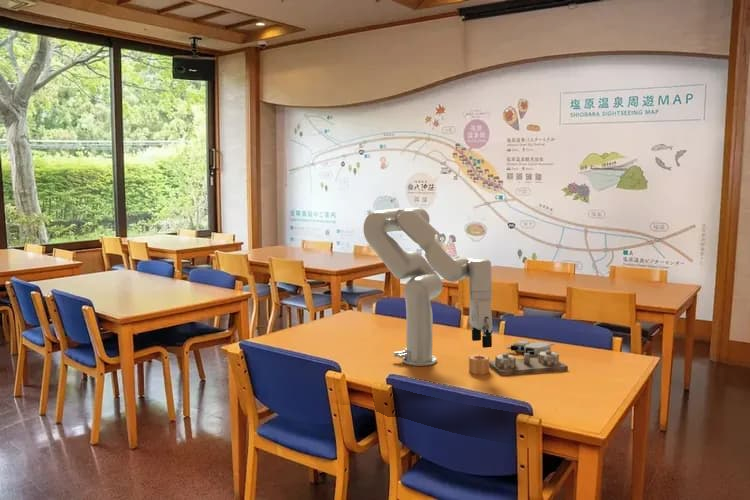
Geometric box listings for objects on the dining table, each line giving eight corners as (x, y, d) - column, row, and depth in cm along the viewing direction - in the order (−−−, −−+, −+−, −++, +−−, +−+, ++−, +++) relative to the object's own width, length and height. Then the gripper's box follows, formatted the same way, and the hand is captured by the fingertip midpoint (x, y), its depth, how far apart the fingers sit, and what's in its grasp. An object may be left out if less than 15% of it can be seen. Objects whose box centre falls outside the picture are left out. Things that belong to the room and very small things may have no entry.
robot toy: (504, 355, 237) (538, 360, 226) (504, 343, 237) (537, 348, 226) (523, 349, 245) (556, 354, 234) (522, 337, 245) (556, 342, 234)
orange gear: (473, 375, 211) (473, 361, 210) (466, 369, 217) (466, 355, 217) (492, 373, 212) (492, 359, 212) (484, 367, 219) (484, 353, 218)
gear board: (500, 375, 210) (500, 359, 209) (487, 365, 222) (487, 350, 221) (567, 370, 215) (568, 355, 214) (551, 360, 227) (551, 345, 226)
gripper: (461, 291, 219) (462, 339, 221) (479, 300, 202) (480, 351, 204) (481, 290, 221) (482, 337, 222) (501, 298, 204) (502, 349, 205)
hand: (481, 343), depth 213 cm, fingers open, 9 cm apart
